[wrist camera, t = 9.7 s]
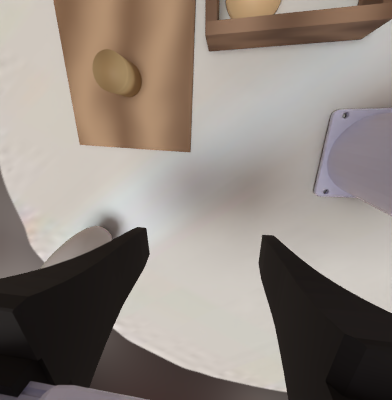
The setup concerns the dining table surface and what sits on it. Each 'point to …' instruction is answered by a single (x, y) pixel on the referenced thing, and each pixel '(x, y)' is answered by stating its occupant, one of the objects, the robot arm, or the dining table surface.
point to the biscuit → (251, 8)
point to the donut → (79, 245)
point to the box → (295, 26)
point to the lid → (130, 71)
